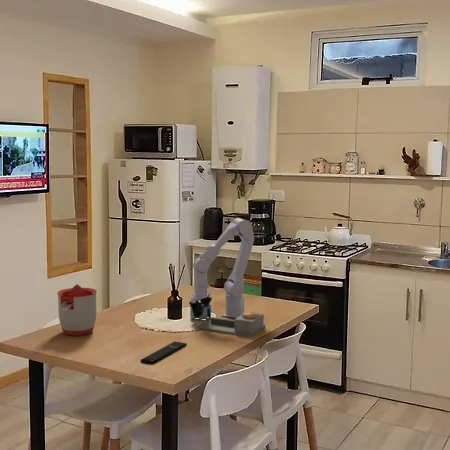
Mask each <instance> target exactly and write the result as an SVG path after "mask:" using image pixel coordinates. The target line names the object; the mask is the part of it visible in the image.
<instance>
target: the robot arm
mask: <svg viewBox="0 0 450 450" xmlns="http://www.w3.org/2000/svg"><path fill="white" fill-rule="evenodd" d="M253 228H254V226H253V225H252V223H251V222H250V221H249V220H247V219H244V218H241V217H236V218H235V217H234V218H233V219H232V221H231V222H230V223H229V224H228V225H227V227H226V229H224V231H223V232H222V233H221V235H220V236H219V237H218V238H217V240H216V241H215V242H214V243H213V244H209V245H207V246H205V250H204V251H203V252H202V253H201V254H199V255H198V257H197V258H195V259H194V260H193V262H192V264H191V265H192V267H193V269H194V279H193V282H194V284H193V285H194V286H193V287H194V288H193V289H194V293H192V294H191V295H192V297H191V298H190V300H189V303H188V304H189V305H190V306H191V308H192V310H193V314H194V317H196V318H199V316H200V308H201V305H202V304H206V305H211V301H212V299H213V297H211V291H208V270H209V269H210V265H211V264H212V263H213V262H214V261H215V259H216V258H218V256H219V255H220V252H221V251H220V250H221V248H222V247H223V246H225V245H226V243H227V242H228V241H229V240H230V239H231V238H232V237H235V236H239V238H240V240H241V241H240V246H239V250H238V252H237V255H236V259H235V262H234V265H233V268H232V272H231V274H230V275H229V276H228V278H227V280H226V281H225V282H224V284H223V285H224V286H223V289H224V291H225V292H226V293H225V313H223V314H222V315H221V316H222V317H227V318H233V319H236V318H237V317H239V316H241V315H242V313H245V312H246V311H245V298H244V296H243V294H244V292H245V291H244V290H245V289H244V284H245V280H244V277H245V276H244V275H245V272H246V269H247V266H248V262H249V259H250V256H251V252H252V249H253V245H254V242H255V235H254V229H253ZM190 306H189V307H190Z"/></svg>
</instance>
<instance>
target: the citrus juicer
mask: <svg viewBox="0 0 450 450" xmlns="http://www.w3.org/2000/svg"><path fill="white" fill-rule="evenodd" d="M97 292H98V290H97V289H95V288H90V287H82V286H81V285H79V284H75V285H74V286H73V287H69V288H65V289H61V290H59V291H57V298H58V299H57V300H58V301H57V305H58V320H59V324H60V327H61V331H62V332H63V334H64V335H68V336H79V337H81V336H85V335H88V334H90V333H92V332H93V331H94V329H95V328H94V327H95V324H96V320H97Z"/></svg>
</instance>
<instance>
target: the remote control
mask: <svg viewBox="0 0 450 450" xmlns="http://www.w3.org/2000/svg"><path fill="white" fill-rule="evenodd" d="M187 344H188V343H187V342H180V341H173V342H171V343H169V344H167V345H165V346H163V347H162V348H160V349H158V350H156V351H154V352H153V353H150V354H149V355H147V356H145V357H143V358H142V359H140V363H142V364H144V365H145V364H147V365H154V364H156V363H158V362H160V361H161V360H163V359H165V358H166V357H169V356H170V355H172V354H174V353H176V352H177V351H178V350H180V349H183V348H184V347H186V346H187Z"/></svg>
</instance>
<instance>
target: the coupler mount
mask: <svg viewBox="0 0 450 450" xmlns="http://www.w3.org/2000/svg"><path fill="white" fill-rule="evenodd" d="M244 312H245V313H242V315H241V316H239V317H237V318H234V319H230V318H229V319H228V318H221V317H216V316H215V317H214V316H211V319H209V318H208V319H207V321H204V322H202V323H200V324H198V325H196V326H195V329H196V328H200V329H199V330H201V329H202V331H208V332H209V331H210V332H213V333H214V332H216V333H221V332H222V334H228V333H229V334H230V335H234V334H236V336H241V335H243V336H242V337H247V336H249V337H250V338H251V337H252V335H253V336H255V334H257V333H258V332H260V331H261V330H263V329H265V327H266V324H264V323H265V322H264V321H265V319H264V317H265V315H264V314H262V313H256V312H253V311H244ZM229 334H228V335H229ZM249 337H248V338H249Z"/></svg>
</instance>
